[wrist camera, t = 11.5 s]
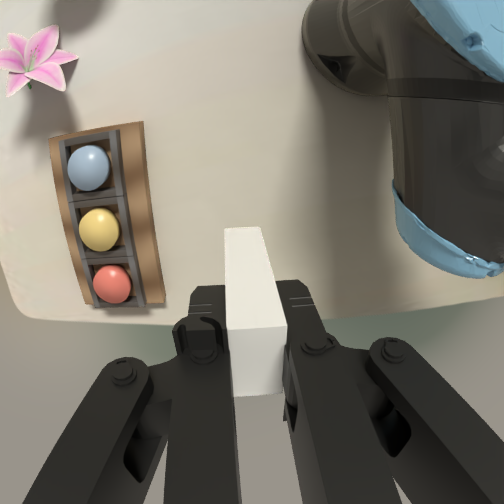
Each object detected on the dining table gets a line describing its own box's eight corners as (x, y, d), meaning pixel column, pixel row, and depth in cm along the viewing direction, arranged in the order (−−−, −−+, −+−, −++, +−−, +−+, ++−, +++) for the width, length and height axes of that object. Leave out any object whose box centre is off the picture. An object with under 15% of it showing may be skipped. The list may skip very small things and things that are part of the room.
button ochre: (80, 209, 33) (75, 213, 32) (116, 205, 34) (112, 209, 32) (88, 247, 36) (83, 252, 34) (123, 244, 36) (120, 250, 35)
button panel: (56, 136, 32) (42, 140, 28) (143, 120, 32) (135, 122, 29) (89, 296, 42) (82, 310, 39) (165, 294, 43) (162, 309, 40)
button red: (92, 264, 37) (88, 270, 35) (127, 263, 37) (124, 269, 36) (101, 297, 39) (98, 303, 38) (135, 296, 39) (133, 303, 38)
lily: (85, 106, 32) (78, 69, 23) (2, 136, 27) (-25, 108, 18) (77, 36, 30) (74, -7, 21) (1, 63, 25) (-18, 25, 17)
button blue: (70, 148, 30) (64, 150, 29) (108, 141, 30) (104, 143, 29) (76, 189, 32) (71, 193, 31) (113, 184, 33) (109, 188, 31)
